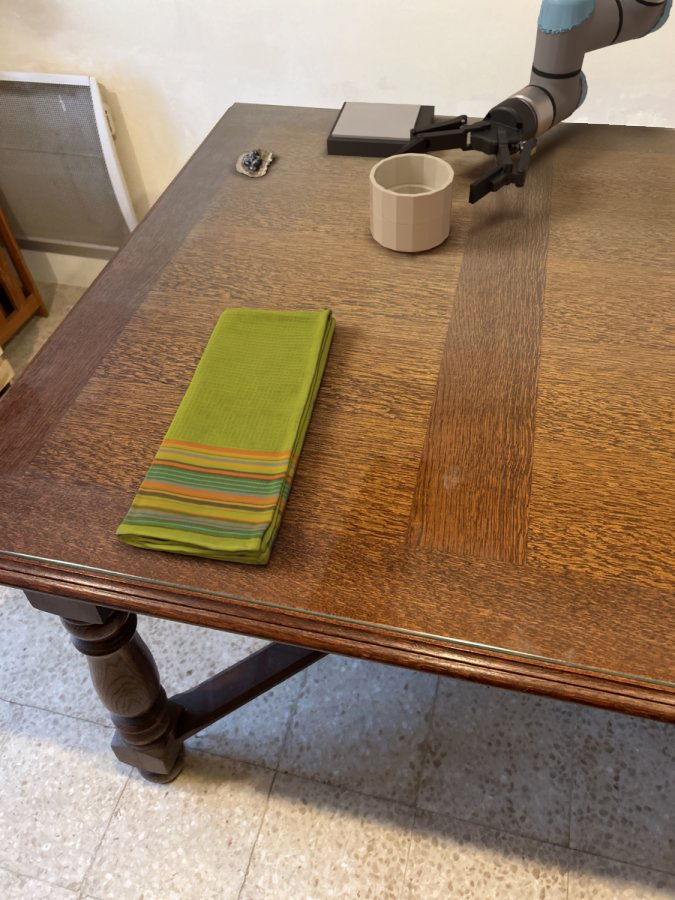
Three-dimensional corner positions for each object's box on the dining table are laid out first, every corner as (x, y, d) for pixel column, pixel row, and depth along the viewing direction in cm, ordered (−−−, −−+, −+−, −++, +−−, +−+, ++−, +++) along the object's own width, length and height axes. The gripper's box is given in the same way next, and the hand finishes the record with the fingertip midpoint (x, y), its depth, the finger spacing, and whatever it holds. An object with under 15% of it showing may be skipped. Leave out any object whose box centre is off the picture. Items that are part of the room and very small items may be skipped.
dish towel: (117, 549, 69) (107, 531, 67) (222, 316, 92) (218, 296, 89) (268, 570, 67) (264, 552, 64) (338, 326, 89) (337, 306, 87)
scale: (434, 120, 124) (435, 102, 122) (423, 159, 115) (423, 141, 113) (344, 115, 127) (344, 98, 124) (327, 154, 118) (326, 136, 116)
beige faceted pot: (453, 214, 104) (458, 155, 98) (444, 258, 98) (448, 198, 91) (378, 209, 106) (378, 151, 100) (364, 252, 99) (362, 193, 93)
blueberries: (274, 151, 120) (272, 140, 118) (278, 174, 114) (277, 163, 113) (234, 156, 119) (232, 145, 118) (237, 180, 114) (235, 169, 113)
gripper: (583, 170, 106) (503, 233, 97) (449, 124, 118) (365, 176, 108) (595, 120, 101) (510, 182, 91) (453, 77, 112) (364, 127, 103)
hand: (431, 179), depth 100 cm, fingers open, 13 cm apart
